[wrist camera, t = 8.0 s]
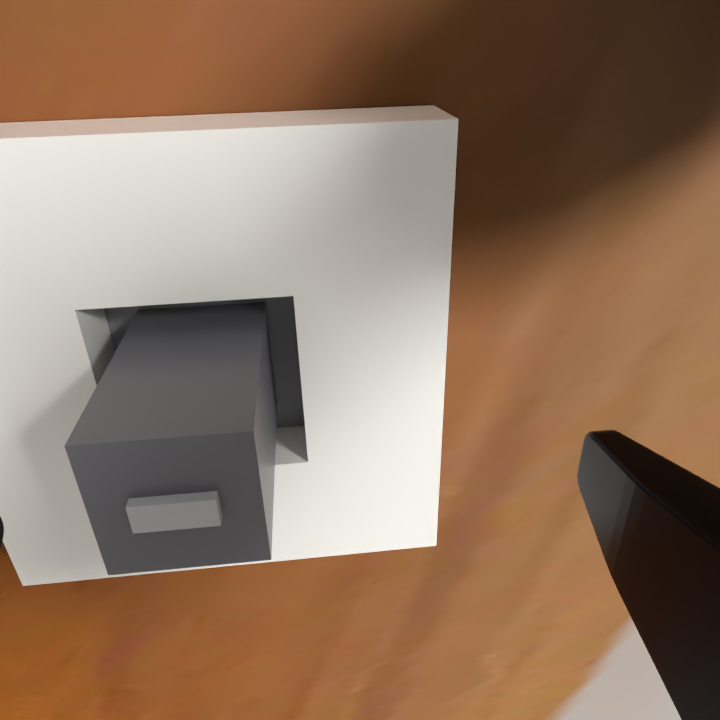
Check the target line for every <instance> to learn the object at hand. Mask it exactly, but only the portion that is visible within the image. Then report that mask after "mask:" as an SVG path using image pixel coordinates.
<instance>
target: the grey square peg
mask: <svg viewBox="0 0 720 720" xmlns="http://www.w3.org/2000/svg"><path fill="white" fill-rule="evenodd" d="M276 421H277V400H276V391H275V382H274V373H273V364H272V355H271V346H270V337H269V328H268V319H267V310H266V302H254V303H238V304H221V305H205V306H189V307H173V308H157V309H140V310H138V311H137V313H136V314H135V316H134V318H133V320H132V322H131V324H130V326H129V327H128V329H127V331H126V333H125V335H124V337H123V339H122V340H121V342H120V344H119V346H118V348H117V350H116V351H115V353H114V355H113V357H112V359H111V361H110V363H109V364H108V366H107V368H106V370H105V372H104V374H103V376H102V377H101V379H100V381H99V383H98V385H97V387H96V388H95V390H94V392H93V394H92V396H91V398H90V400H89V401H88V403H87V405H86V407H85V409H84V411H83V413H82V414H81V416H80V418H79V420H78V422H77V424H76V425H75V427H74V429H73V431H72V433H71V435H70V437H69V438H68V440H67V442H66V444H65V449H66V452H67V455H68V458H69V461H70V464H71V467H72V470H73V473H74V476H75V479H76V482H77V485H78V488H79V491H80V494H81V497H82V500H83V502H84V505H85V508H86V511H87V514H88V517H89V520H90V523H91V526H92V529H93V532H94V535H95V538H96V541H97V544H98V547H99V550H100V553H101V556H102V559H103V562H104V564H105V567H106V570H107V573H108V575H117V574H127V573H138V572H148V571H159V570H169V569H180V568H190V567H201V566H212V565H222V564H233V563H243V562H254V561H264V560H271V555H272V528H273V501H274V475H275V448H276Z"/></svg>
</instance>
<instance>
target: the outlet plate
mask: <svg viewBox="0 0 720 720" xmlns="http://www.w3.org/2000/svg"><path fill="white" fill-rule="evenodd" d="M457 138H458V118H456V117H454V116H452V115H450V114H449V113H447V112H445V111H443V110H441V109H440V108H438V107H436V106H434V105H426V106H402V107H377V108H353V109H329V110H304V111H280V112H256V113H231V114H207V115H183V116H158V117H134V118H110V119H85V120H61V121H37V122H12V123H0V517H1V519H2V521H3V526H4V536H3V540H2V541H3V543H4V545H5V548H6V550H7V552H8V554H9V556H10V559H11V561H12V563H13V565H14V567H15V570H16V572H17V574H18V576H19V579H20V581H21V583H22V585H23V586H28V585H38V584H49V583H59V582H69V581H79V580H89V579H100V578H110V577H120V576H130V575H141V574H151V573H161V572H171V571H182V570H192V569H202V568H212V567H223V566H233V565H243V564H253V563H264V562H274V561H284V560H294V559H305V558H315V557H325V556H335V555H345V554H356V553H366V552H376V551H386V550H397V549H407V548H417V547H427V546H436V540H437V520H438V501H439V482H440V463H441V444H442V425H443V406H444V387H445V367H446V348H447V329H448V310H449V291H450V272H451V253H452V233H453V214H454V195H455V176H456V157H457ZM254 302H266V310H267V319H268V328H269V337H270V346H271V355H272V364H273V373H274V382H275V391H276V400H277V421H276V448H275V475H274V501H273V528H272V555H271V560H264V561H254V562H243V563H233V564H222V565H212V566H201V567H190V568H180V569H169V570H159V571H148V572H138V573H127V574H117V575H108V573H107V570H106V567H105V564H104V562H103V559H102V556H101V553H100V550H99V547H98V544H97V541H96V538H95V535H94V532H93V529H92V526H91V523H90V520H89V517H88V514H87V511H86V508H85V505H84V502H83V500H82V497H81V494H80V491H79V488H78V485H77V482H76V479H75V476H74V473H73V470H72V467H71V464H70V461H69V458H68V455H67V452H66V449H65V444H66V442H67V440H68V438H69V437H70V435H71V433H72V431H73V429H74V427H75V425H76V424H77V422H78V420H79V418H80V416H81V414H82V413H83V411H84V409H85V407H86V405H87V403H88V401H89V400H90V398H91V396H92V394H93V392H94V390H95V388H96V387H97V385H98V383H99V381H100V379H101V377H102V376H103V374H104V372H105V370H106V368H107V366H108V364H109V363H110V361H111V359H112V357H113V355H114V353H115V351H116V350H117V348H118V346H119V344H120V342H121V340H122V339H123V337H124V335H125V333H126V331H127V329H128V327H129V326H130V324H131V322H132V320H133V318H134V316H135V314H136V313H137V311H138V310H140V309H157V308H173V307H189V306H205V305H221V304H238V303H254Z"/></svg>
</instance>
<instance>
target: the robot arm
mask: <svg viewBox="0 0 720 720" xmlns="http://www.w3.org/2000/svg"><path fill="white" fill-rule="evenodd" d="M577 478H578V485H579V489H580V492H581V494H582V497H583V500H584V503H585V506H586V508H587V511H588V514H589V517H590V519H591V522H592V525H593V528H594V530H595V533H596V536H597V539H598V541H599V544H600V547H601V550H602V553H603V555H604V558H605V561H606V563H607V566H608V569H609V571H610V574H611V576H612V578H613V580H614V583H615V585H616V587H617V589H618V591H619V593H620V595H621V597H622V599H623V601H624V604H625V606H626V608H627V610H628V612H629V614H630V616H631V618H632V620H633V622H634V624H635V626H636V628H637V630H638V632H639V634H640V636H641V638H642V640H643V642H644V644H645V646H646V648H647V650H648V652H649V654H650V656H651V658H652V660H653V662H654V664H655V666H656V668H657V670H658V672H659V675H660V676H661V679H662V681H663V682H664V685H665V687H666V689H667V691H668V693H669V695H670V697H671V699H672V701H673V703H674V705H675V707H676V709H677V711H678V713H679V715H680V717H681V719H682V720H720V488H719V487H717V486H715V485H713V484H711V483H710V482H708V481H706V480H704V479H702V478H701V477H699V476H697V475H695V474H693V473H692V472H690V471H688V470H686V469H684V468H683V467H681V466H679V465H677V464H675V463H673V462H672V461H670V460H668V459H666V458H664V457H663V456H661V455H659V454H657V453H655V452H654V451H652V450H650V449H648V448H646V447H645V446H643V445H641V444H639V443H637V442H636V441H634V440H632V439H630V438H628V437H627V436H625V435H623V434H621V433H619V432H617V431H615V430H603V431H592V432H589V433H588V434H586V436H585V438H584V442H583V447H582V452H581V457H580V462H579V468H578V474H577ZM3 536H4V526H3V521H2V519H1V517H0V547H1V544H2V540H3Z"/></svg>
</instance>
